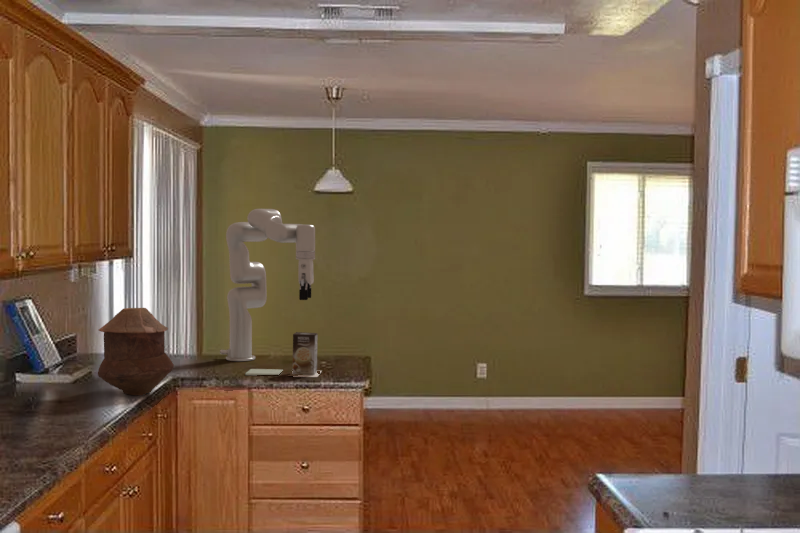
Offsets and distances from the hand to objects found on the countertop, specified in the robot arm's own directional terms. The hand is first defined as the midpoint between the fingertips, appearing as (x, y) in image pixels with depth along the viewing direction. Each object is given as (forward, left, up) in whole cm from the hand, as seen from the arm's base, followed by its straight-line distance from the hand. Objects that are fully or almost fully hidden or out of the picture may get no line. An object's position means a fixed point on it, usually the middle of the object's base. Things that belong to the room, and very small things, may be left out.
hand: (305, 298), depth 347 cm
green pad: (-16, -1, -30) cm, 34 cm away
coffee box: (0, 0, -30) cm, 30 cm away
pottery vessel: (-53, -44, -30) cm, 75 cm away
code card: (0, 0, -30) cm, 30 cm away
